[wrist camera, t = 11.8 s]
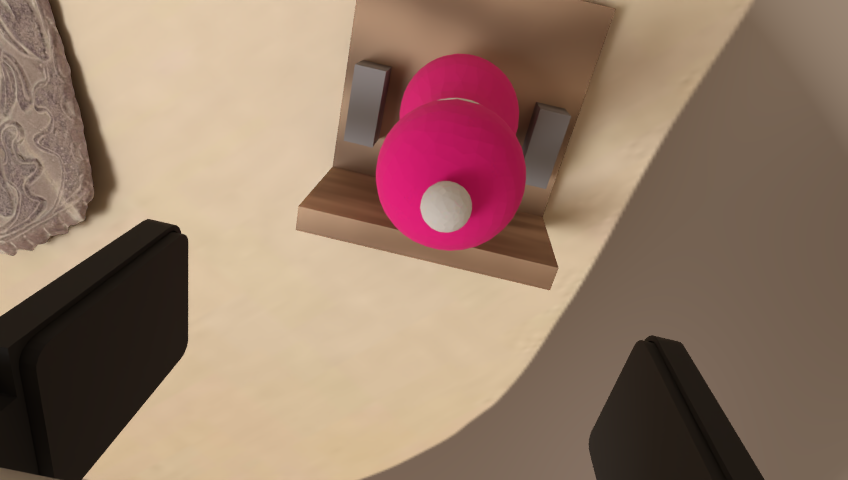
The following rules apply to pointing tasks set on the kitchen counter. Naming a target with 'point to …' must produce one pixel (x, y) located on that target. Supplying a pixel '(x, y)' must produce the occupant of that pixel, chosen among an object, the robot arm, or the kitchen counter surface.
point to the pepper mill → (453, 155)
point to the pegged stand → (537, 127)
